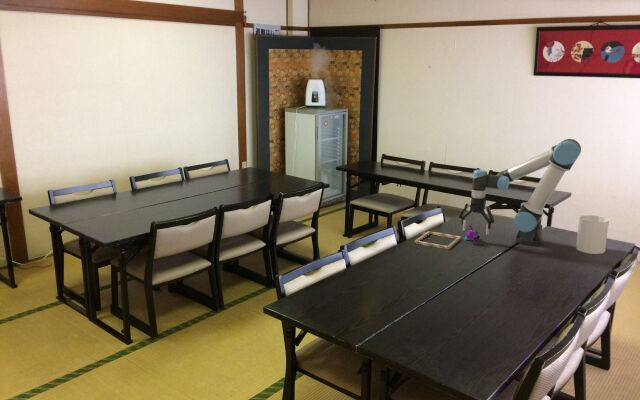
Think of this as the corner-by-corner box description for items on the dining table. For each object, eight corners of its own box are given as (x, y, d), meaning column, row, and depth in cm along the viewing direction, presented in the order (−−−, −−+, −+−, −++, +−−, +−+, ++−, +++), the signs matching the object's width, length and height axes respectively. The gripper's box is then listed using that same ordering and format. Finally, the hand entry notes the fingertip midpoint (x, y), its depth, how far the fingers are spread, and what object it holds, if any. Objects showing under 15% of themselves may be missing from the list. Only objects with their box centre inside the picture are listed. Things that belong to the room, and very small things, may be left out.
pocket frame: (461, 238, 316) (461, 236, 315) (448, 249, 297) (448, 246, 297) (423, 232, 328) (423, 230, 328) (409, 242, 309) (409, 240, 309)
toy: (487, 241, 314) (479, 241, 301) (472, 248, 318) (464, 249, 306) (477, 223, 317) (469, 222, 305) (463, 230, 322) (455, 230, 310)
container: (597, 256, 287) (602, 223, 283) (571, 249, 298) (574, 218, 293) (608, 250, 296) (613, 218, 292) (582, 244, 307) (586, 213, 302)
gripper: (502, 198, 304) (498, 234, 309) (459, 192, 317) (456, 227, 322) (498, 201, 298) (495, 237, 303) (454, 195, 310) (452, 230, 316)
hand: (475, 232), depth 312 cm, fingers open, 13 cm apart
